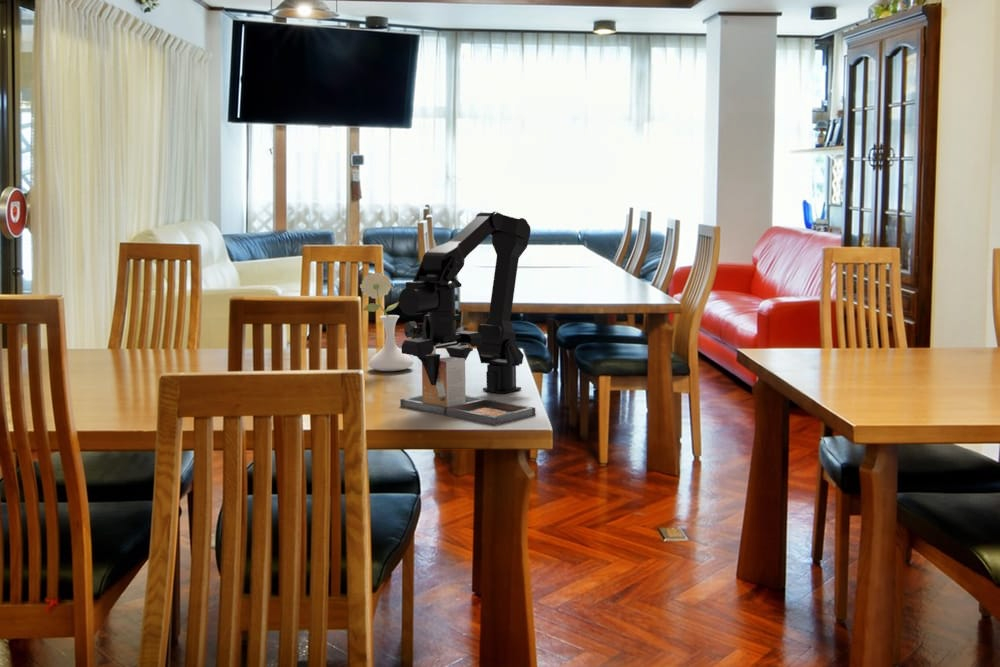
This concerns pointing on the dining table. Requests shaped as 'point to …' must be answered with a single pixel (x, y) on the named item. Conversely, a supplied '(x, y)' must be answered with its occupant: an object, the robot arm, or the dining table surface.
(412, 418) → the dining table surface
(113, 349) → the dining table surface
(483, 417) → the pocket rack
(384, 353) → the flower in vase
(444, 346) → the robot arm
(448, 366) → the small box
